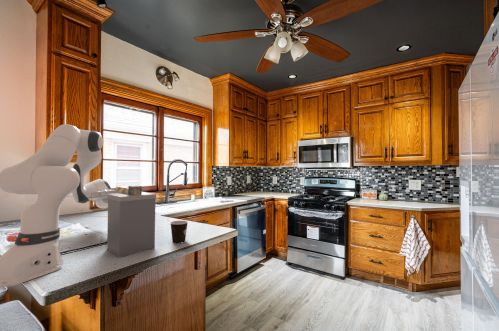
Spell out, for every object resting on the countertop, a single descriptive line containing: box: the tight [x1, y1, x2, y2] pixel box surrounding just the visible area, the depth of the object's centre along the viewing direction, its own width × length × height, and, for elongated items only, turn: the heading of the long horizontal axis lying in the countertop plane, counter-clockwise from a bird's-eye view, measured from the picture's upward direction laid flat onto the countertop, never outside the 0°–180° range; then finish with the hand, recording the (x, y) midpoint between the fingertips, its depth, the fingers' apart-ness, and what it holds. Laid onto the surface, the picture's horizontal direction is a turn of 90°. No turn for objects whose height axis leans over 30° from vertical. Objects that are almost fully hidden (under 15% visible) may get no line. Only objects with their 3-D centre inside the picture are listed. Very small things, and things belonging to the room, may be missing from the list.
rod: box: [115, 185, 143, 195], centre depth 118 cm, size 21×4×4 cm, turn 49°
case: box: [106, 191, 157, 258], centre depth 114 cm, size 14×16×26 cm
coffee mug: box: [170, 220, 188, 244], centre depth 125 cm, size 12×9×10 cm
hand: (115, 191), depth 133 cm, fingers open, 8 cm apart
